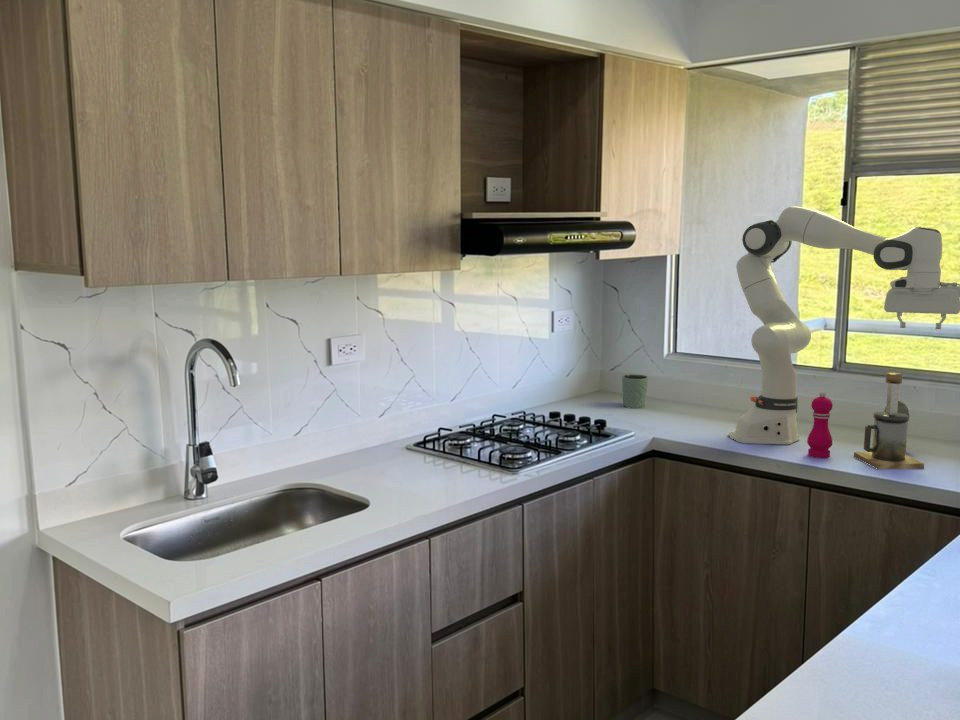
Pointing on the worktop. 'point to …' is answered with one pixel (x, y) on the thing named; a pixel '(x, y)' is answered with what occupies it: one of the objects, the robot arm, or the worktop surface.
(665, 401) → the worktop surface
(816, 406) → the pepper mill
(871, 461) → the plate
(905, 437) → the press
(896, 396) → the plunger
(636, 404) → the green cup
